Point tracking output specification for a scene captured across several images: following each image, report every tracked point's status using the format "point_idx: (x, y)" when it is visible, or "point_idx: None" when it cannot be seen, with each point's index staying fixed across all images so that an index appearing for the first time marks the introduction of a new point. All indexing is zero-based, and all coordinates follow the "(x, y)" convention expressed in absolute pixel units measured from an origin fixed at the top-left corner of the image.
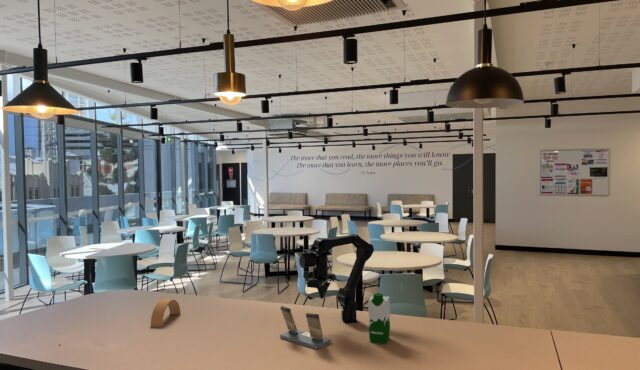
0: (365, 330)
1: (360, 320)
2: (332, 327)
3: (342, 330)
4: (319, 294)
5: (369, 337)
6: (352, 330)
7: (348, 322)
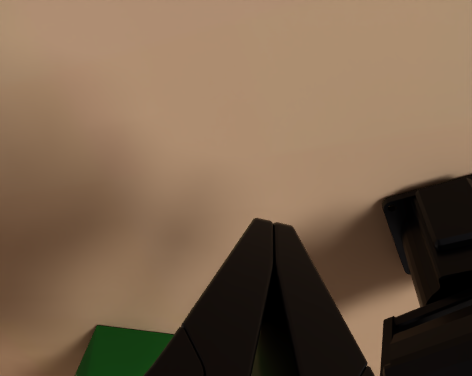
0: None
1: None
2: (266, 129)
3: (218, 203)
4: (216, 276)
5: (94, 342)
6: None
7: (389, 224)
